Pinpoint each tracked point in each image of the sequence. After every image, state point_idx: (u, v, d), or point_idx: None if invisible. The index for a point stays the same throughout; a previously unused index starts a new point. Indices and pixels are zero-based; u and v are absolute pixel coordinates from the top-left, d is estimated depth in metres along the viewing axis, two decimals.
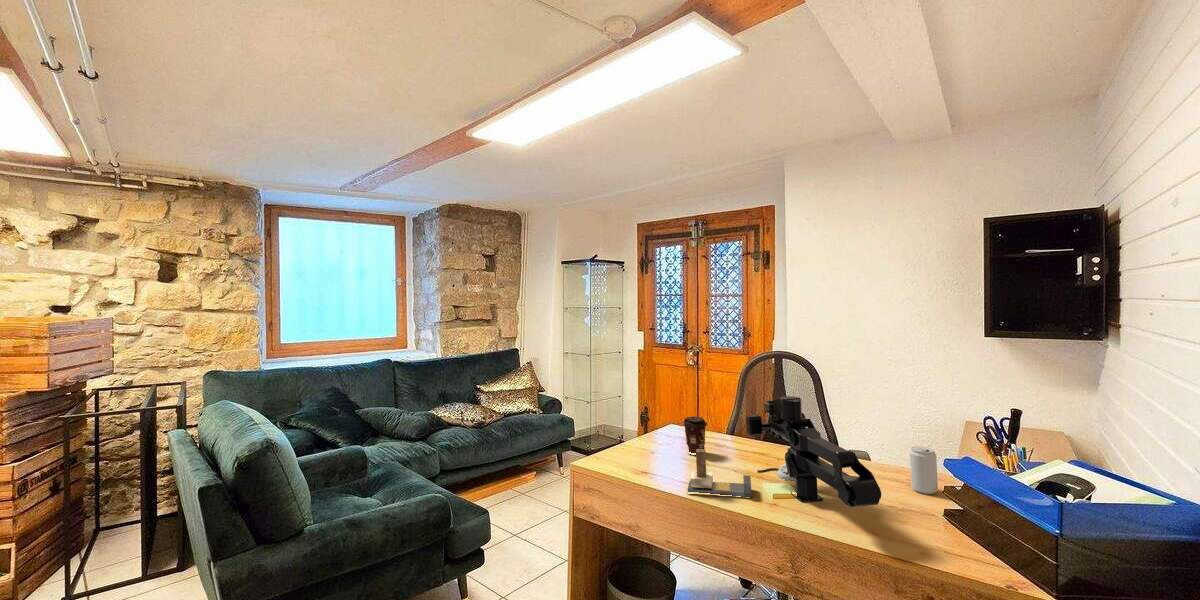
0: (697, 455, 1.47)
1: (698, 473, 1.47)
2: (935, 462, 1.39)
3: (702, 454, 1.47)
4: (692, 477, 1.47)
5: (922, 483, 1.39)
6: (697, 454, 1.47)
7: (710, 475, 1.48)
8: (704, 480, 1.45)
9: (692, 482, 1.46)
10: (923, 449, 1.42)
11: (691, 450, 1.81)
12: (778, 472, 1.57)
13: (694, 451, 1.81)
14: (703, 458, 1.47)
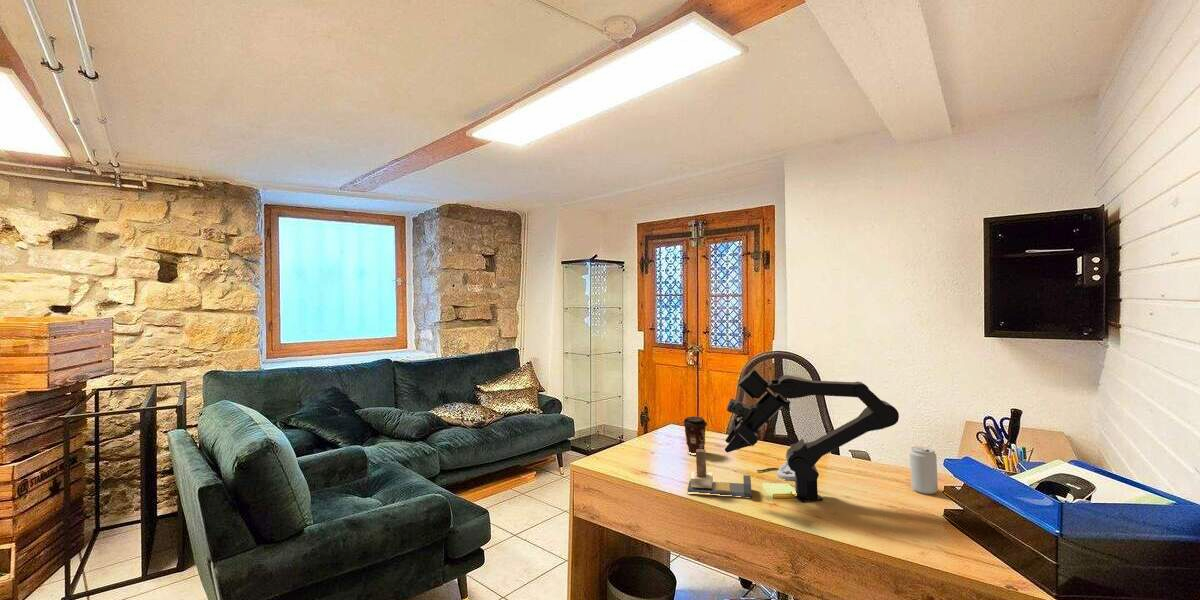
0: (697, 455, 1.47)
1: (698, 473, 1.47)
2: (935, 462, 1.39)
3: (702, 454, 1.47)
4: (692, 477, 1.47)
5: (922, 483, 1.39)
6: (697, 454, 1.47)
7: (710, 475, 1.48)
8: (704, 480, 1.45)
9: (692, 482, 1.46)
10: (923, 449, 1.42)
11: (691, 450, 1.81)
12: (778, 472, 1.57)
13: (694, 451, 1.81)
14: (703, 458, 1.47)
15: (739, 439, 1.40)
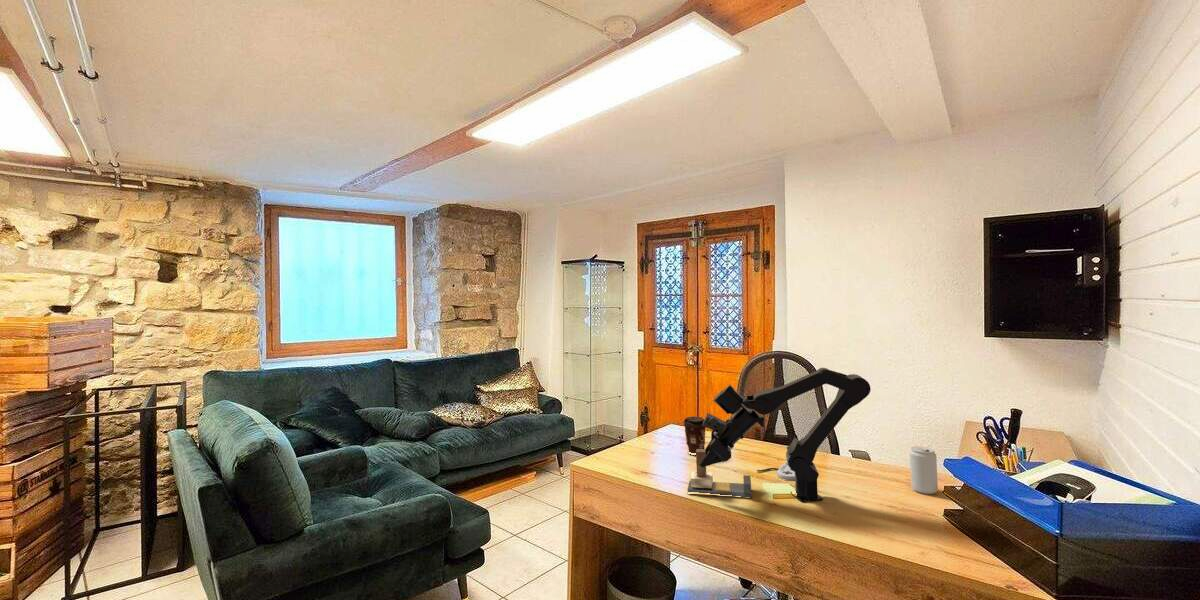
0: (697, 455, 1.47)
1: (698, 473, 1.47)
2: (935, 462, 1.39)
3: (702, 454, 1.47)
4: (692, 477, 1.47)
5: (922, 483, 1.39)
6: (697, 454, 1.47)
7: (710, 475, 1.48)
8: (704, 480, 1.45)
9: (692, 482, 1.46)
10: (923, 449, 1.42)
11: (691, 450, 1.81)
12: (778, 472, 1.58)
13: (694, 451, 1.81)
14: (703, 458, 1.47)
15: (714, 454, 1.42)
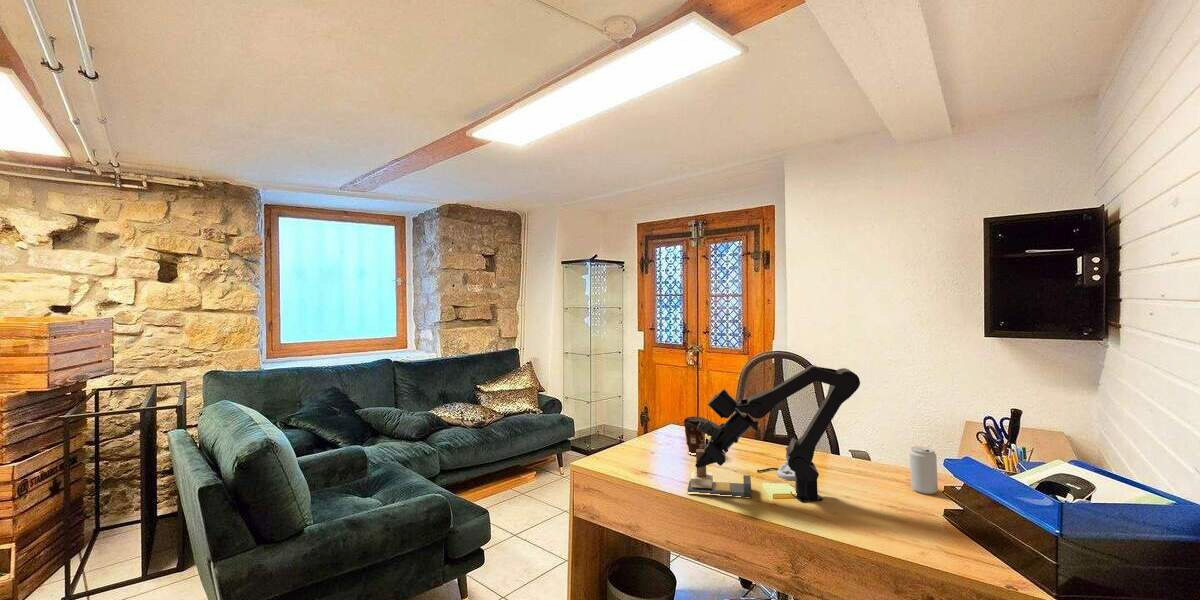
0: (697, 455, 1.47)
1: (698, 473, 1.47)
2: (935, 462, 1.39)
3: (702, 454, 1.47)
4: (692, 477, 1.47)
5: (922, 483, 1.39)
6: (697, 454, 1.47)
7: (710, 475, 1.48)
8: (704, 480, 1.45)
9: (692, 482, 1.46)
10: (923, 449, 1.42)
11: (691, 450, 1.81)
12: (778, 472, 1.58)
13: (694, 451, 1.81)
14: None
15: (709, 455, 1.45)
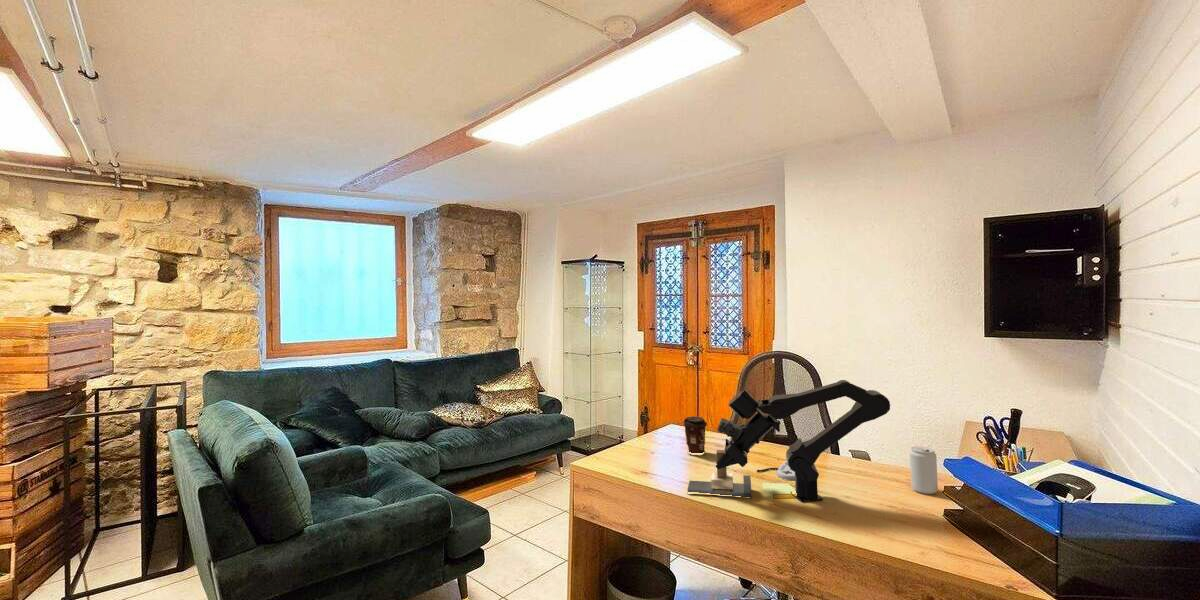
0: (718, 456, 1.46)
1: (719, 474, 1.46)
2: (935, 462, 1.39)
3: None
4: (712, 478, 1.45)
5: (922, 483, 1.39)
6: (718, 455, 1.46)
7: (731, 476, 1.46)
8: (725, 481, 1.44)
9: (713, 483, 1.44)
10: (923, 449, 1.42)
11: (691, 450, 1.81)
12: (778, 472, 1.58)
13: (694, 451, 1.81)
14: None
15: (729, 456, 1.43)
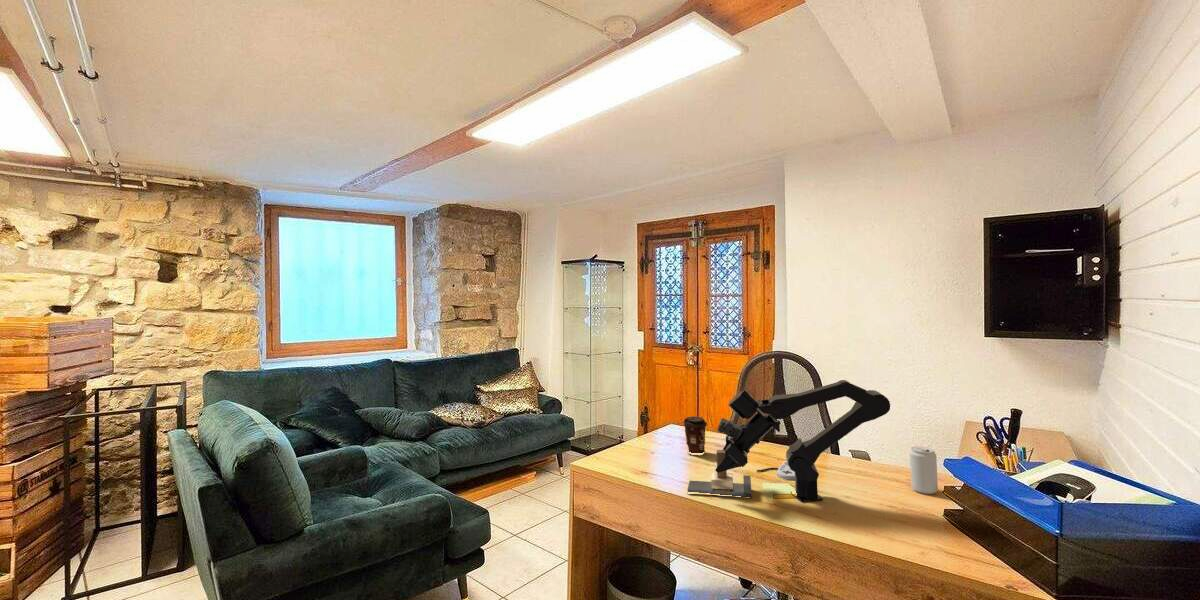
0: (718, 456, 1.46)
1: (719, 474, 1.46)
2: (935, 462, 1.39)
3: (723, 455, 1.45)
4: (713, 478, 1.45)
5: (922, 483, 1.39)
6: (718, 455, 1.46)
7: (731, 476, 1.46)
8: (725, 481, 1.44)
9: (713, 483, 1.44)
10: (923, 449, 1.42)
11: (691, 450, 1.81)
12: (778, 471, 1.58)
13: (694, 451, 1.81)
14: None
15: (729, 460, 1.40)
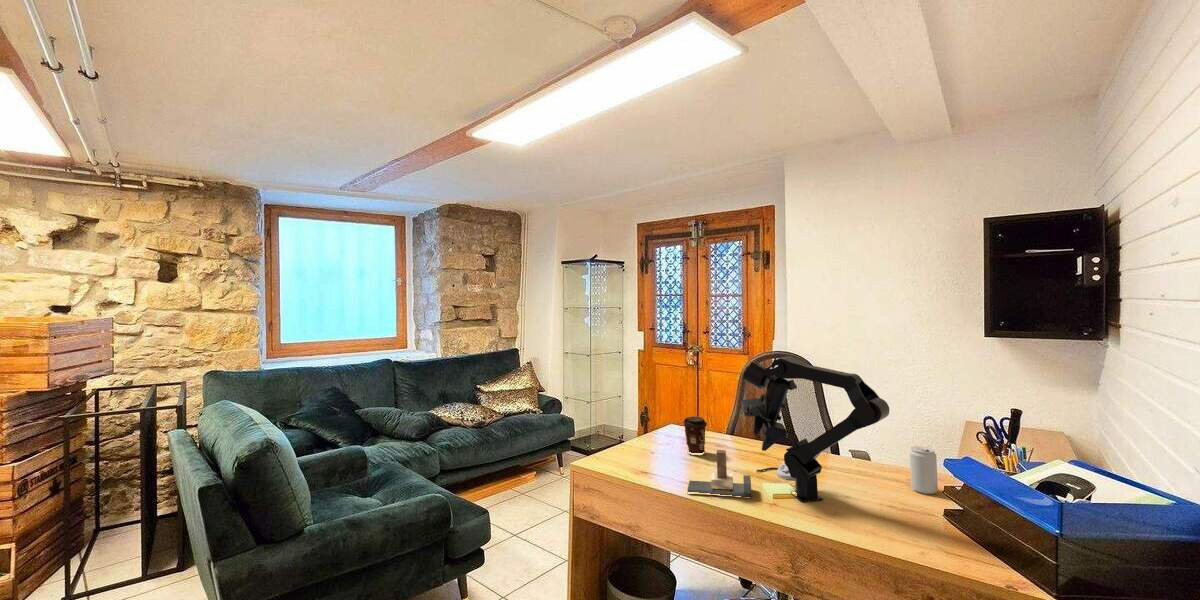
0: (718, 456, 1.46)
1: (719, 474, 1.46)
2: (935, 462, 1.39)
3: (723, 455, 1.45)
4: (713, 478, 1.45)
5: (922, 483, 1.39)
6: (718, 455, 1.46)
7: (731, 476, 1.46)
8: (725, 481, 1.44)
9: (713, 483, 1.44)
10: (923, 449, 1.42)
11: (691, 450, 1.81)
12: (778, 471, 1.58)
13: (694, 451, 1.81)
14: (724, 459, 1.45)
15: (770, 436, 1.44)
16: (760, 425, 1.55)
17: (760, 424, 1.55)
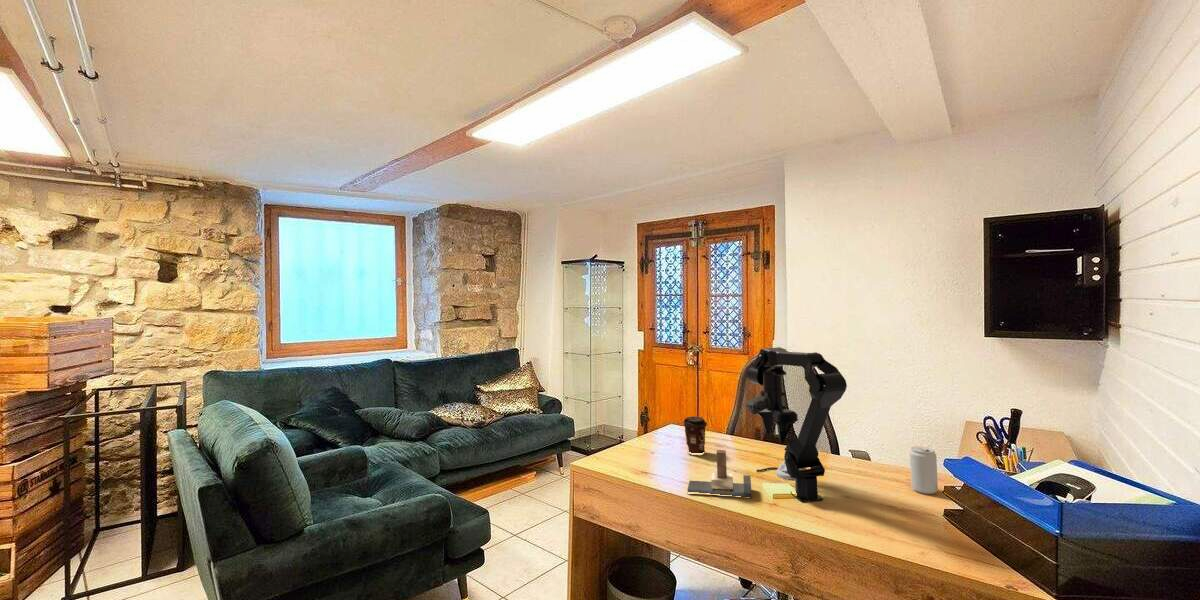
0: (718, 456, 1.46)
1: (719, 474, 1.46)
2: (935, 462, 1.39)
3: (723, 455, 1.45)
4: (713, 478, 1.45)
5: (922, 483, 1.39)
6: (718, 455, 1.46)
7: (731, 476, 1.46)
8: (725, 481, 1.44)
9: (713, 483, 1.44)
10: (923, 449, 1.42)
11: (691, 450, 1.81)
12: (777, 471, 1.58)
13: (694, 451, 1.81)
14: (724, 459, 1.45)
15: (783, 425, 1.49)
16: (770, 424, 1.59)
17: (769, 423, 1.59)
